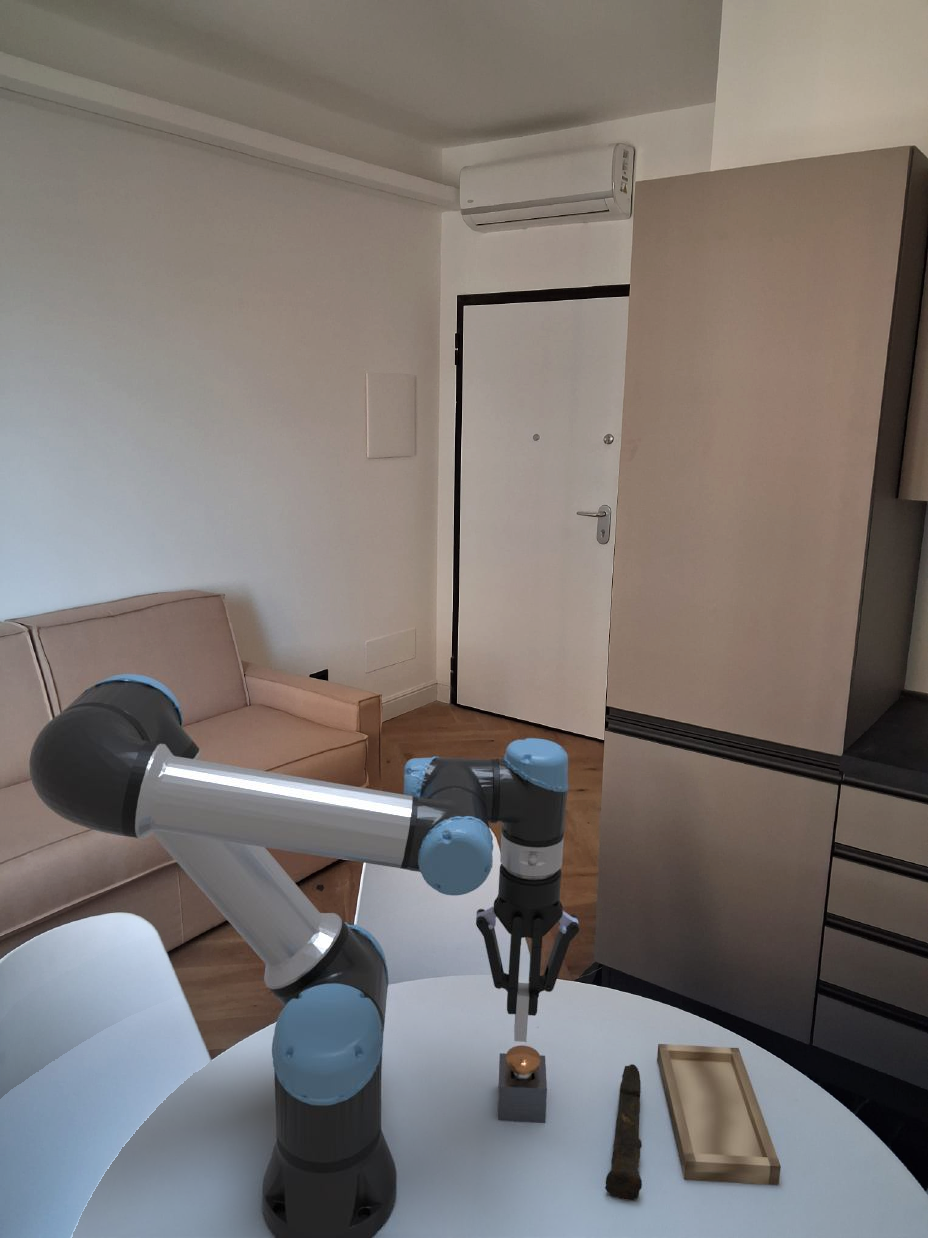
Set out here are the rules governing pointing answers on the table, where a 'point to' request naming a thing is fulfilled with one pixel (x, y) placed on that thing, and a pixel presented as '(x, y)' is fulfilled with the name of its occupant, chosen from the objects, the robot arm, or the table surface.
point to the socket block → (522, 1094)
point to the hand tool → (626, 1140)
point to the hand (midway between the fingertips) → (520, 1034)
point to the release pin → (522, 1061)
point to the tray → (716, 1116)
